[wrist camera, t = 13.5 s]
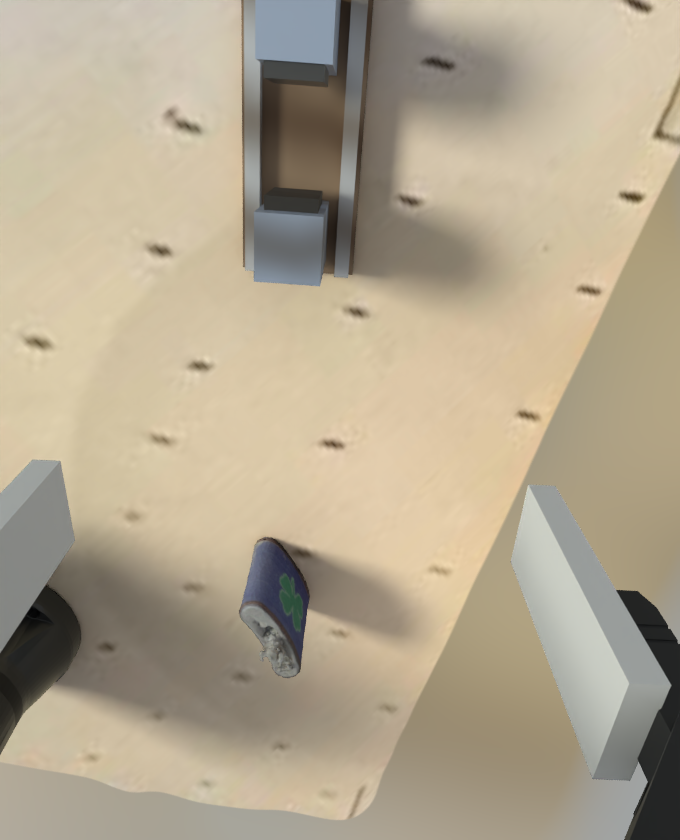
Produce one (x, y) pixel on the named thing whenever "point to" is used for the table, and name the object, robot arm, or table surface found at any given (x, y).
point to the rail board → (303, 159)
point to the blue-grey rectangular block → (297, 40)
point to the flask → (276, 606)
